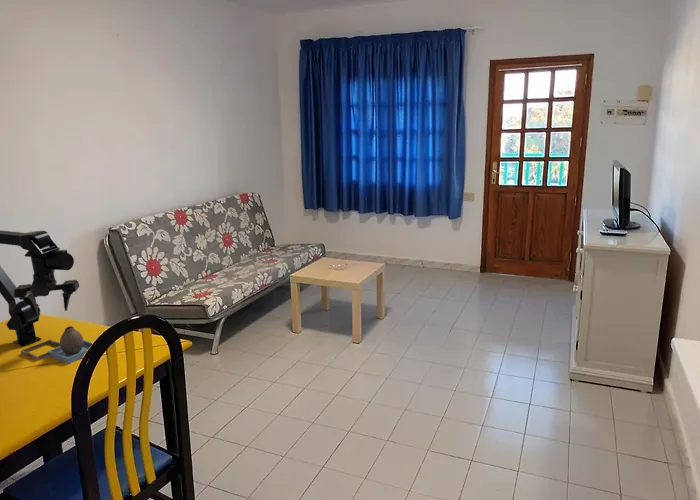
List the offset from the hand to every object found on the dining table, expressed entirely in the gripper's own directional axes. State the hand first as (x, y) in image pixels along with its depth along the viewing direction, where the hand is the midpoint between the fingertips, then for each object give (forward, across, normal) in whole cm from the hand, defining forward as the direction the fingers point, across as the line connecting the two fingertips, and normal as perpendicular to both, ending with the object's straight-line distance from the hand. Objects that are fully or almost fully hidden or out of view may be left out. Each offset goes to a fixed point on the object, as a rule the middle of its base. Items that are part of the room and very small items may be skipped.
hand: (51, 312), depth 178 cm
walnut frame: (+12, -3, -5) cm, 13 cm away
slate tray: (+12, +8, -10) cm, 17 cm away
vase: (+12, +8, -10) cm, 17 cm away
